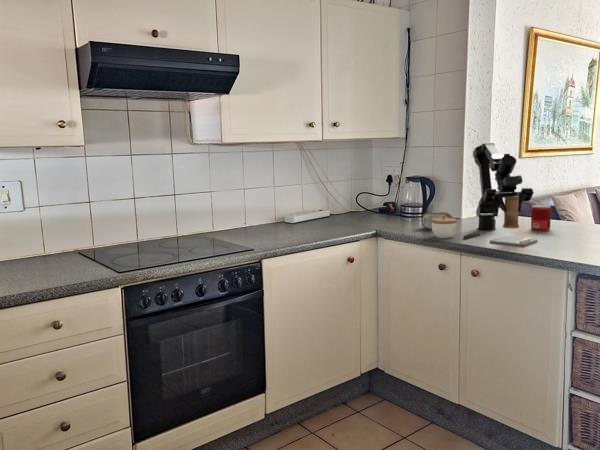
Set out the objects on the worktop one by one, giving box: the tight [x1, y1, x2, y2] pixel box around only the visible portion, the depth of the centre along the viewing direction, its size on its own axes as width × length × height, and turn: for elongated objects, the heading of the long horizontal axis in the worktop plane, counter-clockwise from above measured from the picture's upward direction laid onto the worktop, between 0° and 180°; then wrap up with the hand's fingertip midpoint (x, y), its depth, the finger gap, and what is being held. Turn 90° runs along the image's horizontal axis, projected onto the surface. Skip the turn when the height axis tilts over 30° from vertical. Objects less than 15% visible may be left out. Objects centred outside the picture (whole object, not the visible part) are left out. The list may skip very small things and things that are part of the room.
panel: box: [489, 235, 538, 248], centre depth 217 cm, size 14×13×1 cm
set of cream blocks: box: [519, 237, 532, 244], centre depth 212 cm, size 1×8×1 cm, turn 135°
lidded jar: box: [431, 216, 457, 239], centre depth 234 cm, size 11×11×9 cm
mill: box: [502, 196, 520, 230], centre depth 215 cm, size 6×6×12 cm
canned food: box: [530, 204, 552, 232], centre depth 243 cm, size 8×8×11 cm
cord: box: [462, 231, 481, 240], centre depth 231 cm, size 14×2×2 cm, turn 135°
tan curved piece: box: [421, 210, 453, 230], centre depth 254 cm, size 15×3×8 cm, turn 54°
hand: (512, 211), depth 214 cm, fingers closed on mill, 5 cm apart
